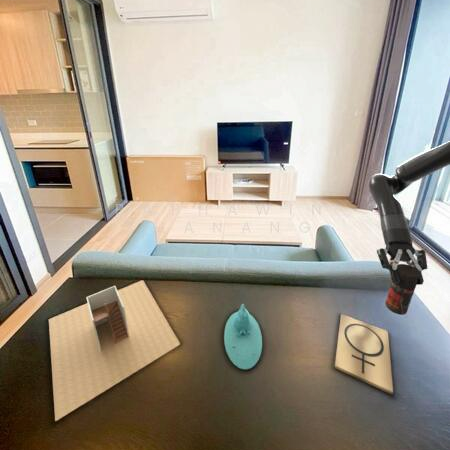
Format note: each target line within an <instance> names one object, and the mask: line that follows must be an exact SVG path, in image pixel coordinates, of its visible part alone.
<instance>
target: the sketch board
mask: <svg viewBox="0 0 450 450" xmlns="http://www.w3.org/2000/svg"><path fill="white" fill-rule="evenodd" d="M337 335H338V336H337V344H336V351H335V359H334V360H335V361H334V369H336V370H339V371H341V372H343V373H345V374H347V375H348V376H351V377H354V378H355V379H358V380H360V381H362V382H364V383H366V384H368V385H370V386H373V387H375V388H377V389H380V390H381V391H384V392H386V393H387V394H390V395H393V394H394V385H393V374H392V364H391V350H390V341H389V339H390V338H389V331H388V330H386V329H383V328H380V327H377V326H374V325H372V324H369V323H367V322H365V321H361V320H359V319H356V318H353V317H350V316H348V315H345V314H342V313H341V314H340V320H339V327H338V334H337Z"/></svg>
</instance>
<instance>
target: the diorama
mask: <svg viewBox="0 0 450 450" xmlns="http://www.w3.org/2000/svg"><path fill="white" fill-rule="evenodd" d="M223 333H224V334H223V340H224V347H225V352H226V355H227V356H228V358H229V360H230V361H231V362H232V364H233V365H234V366H235V367H237V368H238V369H240V370H245V371H246V370H250V369H252V368H253V367H254V366H256V364H257V363H258V361H259V360H260V357H261V354H262V351H263V350H262V349H263V336H262V332H261V328H260V325H259V323H258V321H257V320H256V319H255V317H254V316H253V315H252V314H251V313H250V312H249V311H248V309H246V307H245V303H242V304H241V305H240V307H239V310H238V311H236V312H234V313H232V314H231V315H230V316H229V318H228V319H227V321H226V324H225V327H224V332H223Z"/></svg>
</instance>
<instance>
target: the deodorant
mask: <svg viewBox="0 0 450 450" xmlns="http://www.w3.org/2000/svg"><path fill="white" fill-rule="evenodd" d="M396 271H398V275H399V279H400V284H395V283H394V282H393V281H392V280H391V283H390V286H389V290H388V292H387V296H386V299H385V302H384V304H385V306H386V309H388V310H389V311H390V312H392V313H394V314H397V315H399V316H400V315H401V316H403V315H406V314H407V313H408V310H409V308H410V305H411V301H412V298H413V296H414V293H415V290H416V287H417V286H418V285H417V282H418V279H419V276H420V272H419V271H418V270H417V269H415V268H414V267H412V266H409V265H408V264H407V263H406V264H405V263H398V265H397V269H396Z"/></svg>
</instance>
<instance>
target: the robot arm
mask: <svg viewBox="0 0 450 450" xmlns="http://www.w3.org/2000/svg"><path fill="white" fill-rule="evenodd" d="M447 166H450V140H449V141H447V142H445V143H442V144H441V145H438V146H436V147H433V148H431V149H428V150H426V151H425V150H424V151H423V152H421V153H419V154H417V155H415V156H413V157H411V158H409V159H408V160H406V161H404V162H402V163H401V164H399V165H398V166H397V167H396V168H395V174H393V175H391V176H389V175H388V174H383V173H376V174H374V175H372V176H371V177H370V179H369V181H368V189H369V192H370V194H371V197H372V199H373V201H374V203H375V205H376V207H377V211H378V216H379V220H380V228H381V233H382V237H383V242H384V245H385V248H383V247H381V248H378V249H377V250H376V254H377V257H378V259H379V262H380V265H381V267H382V269H386V270H388V271H389V274H390V275H389V276H390V278H391V282H392V281H393V282H394V283H395V284H400V279H399V275H398V271H396V269H397V265H398V264H400V262H403V263H406V265H409V266H412V267H414V268H415V269H417V270H418V271H419V272H420V276H419V279H418V282H417V285H416V286H418V285H419V286H420V285H423V284H424V282H425V280H424V276H423V272H422V271H425V270H427V269H428V261H427V255H426V250H425V249H416V248H415V247H414V246H413V239H412V235H411V231H410V227H409V223H408V221H407V218H406V216H405V212H404V208H403V205H402V203H401V201H400V200H399V199H398V198H396V197H395V196H396V195H399V194H400V193H402V192H403V191H404V190H406V189H407V188H408V187H410V186H411V185H412V184H413V183H414V182H417V181H419V180H421V179H423V178H426V177H427V176H429V175H431V174H434V173H436V172H437V171H440V170H441V169H444V168H445V167H447ZM387 255H388V256H389V259H388V256H387Z"/></svg>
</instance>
